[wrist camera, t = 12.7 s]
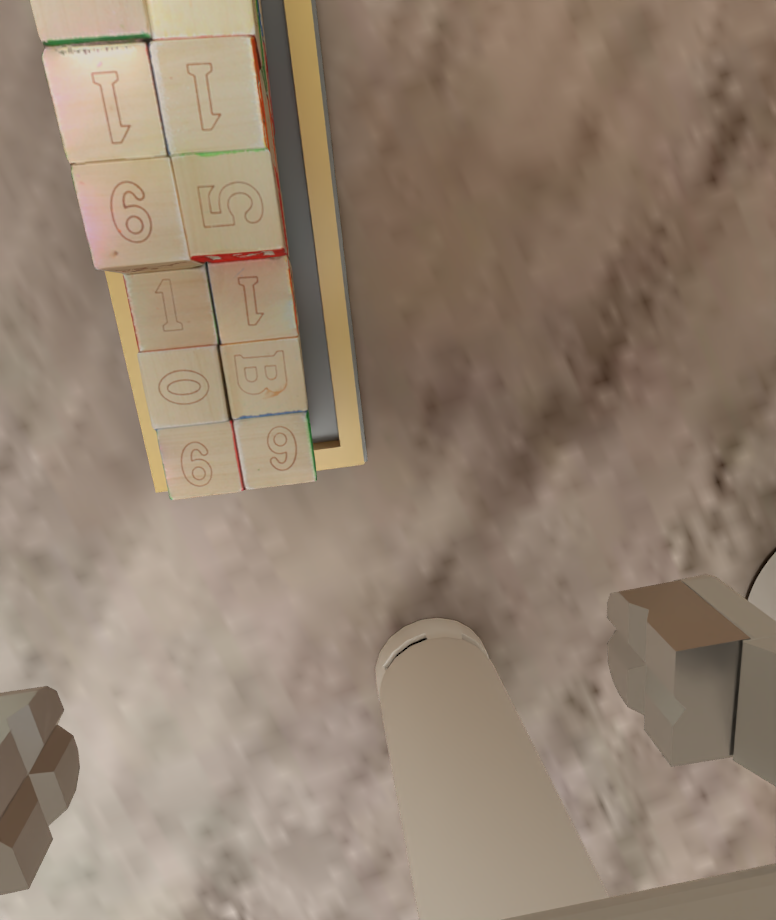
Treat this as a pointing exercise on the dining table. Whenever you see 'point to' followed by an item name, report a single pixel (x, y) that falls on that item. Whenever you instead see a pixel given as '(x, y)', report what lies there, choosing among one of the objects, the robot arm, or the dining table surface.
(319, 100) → the yellow and grey tray
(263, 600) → the dining table surface
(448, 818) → the bottle
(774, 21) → the dining table surface
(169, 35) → the stack of blocks
